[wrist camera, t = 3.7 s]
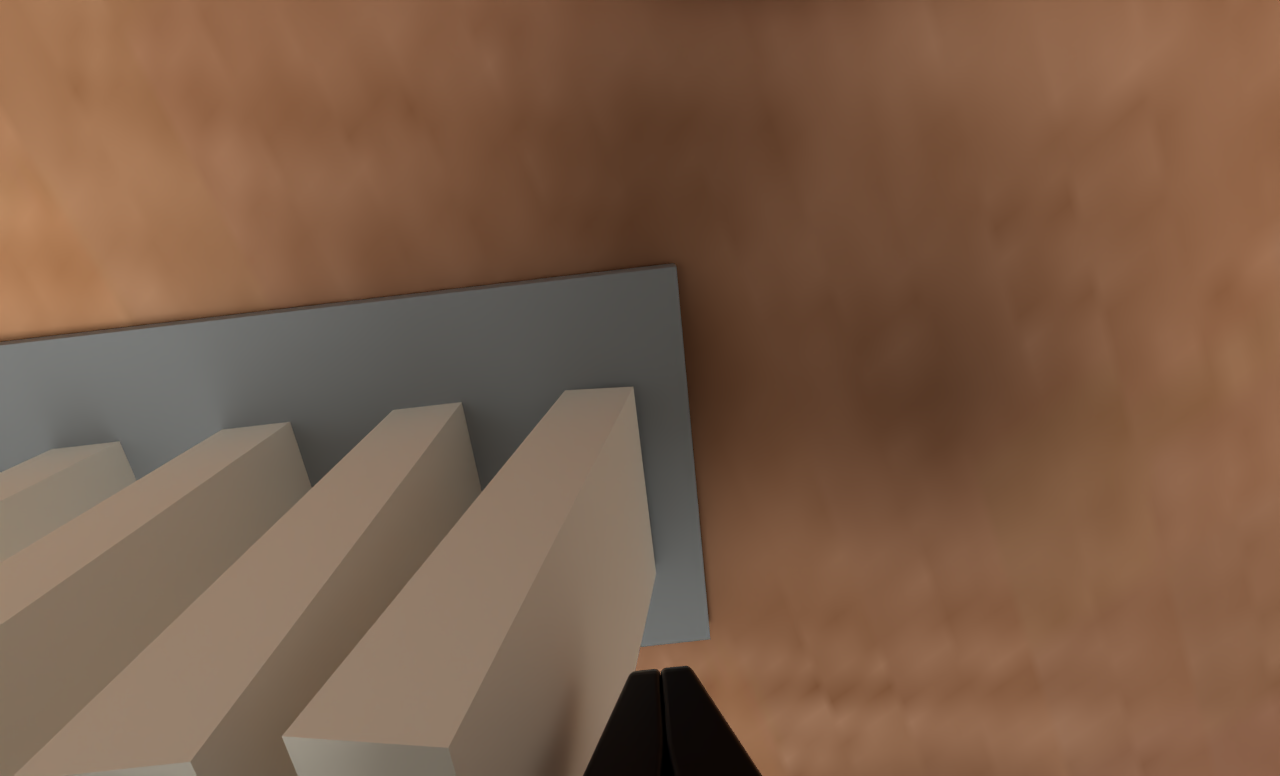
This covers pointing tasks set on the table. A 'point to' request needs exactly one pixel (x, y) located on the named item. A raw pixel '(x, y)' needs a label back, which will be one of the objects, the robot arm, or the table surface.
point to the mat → (388, 388)
